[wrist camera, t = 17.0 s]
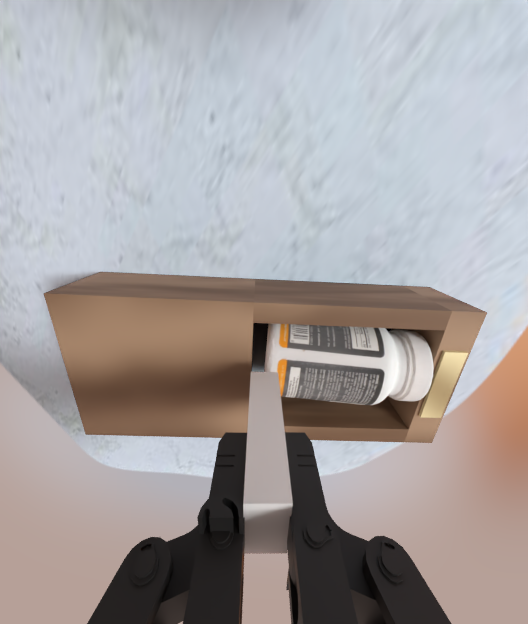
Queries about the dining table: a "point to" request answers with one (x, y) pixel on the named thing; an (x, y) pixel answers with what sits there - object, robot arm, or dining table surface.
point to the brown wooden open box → (239, 352)
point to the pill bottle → (349, 363)
